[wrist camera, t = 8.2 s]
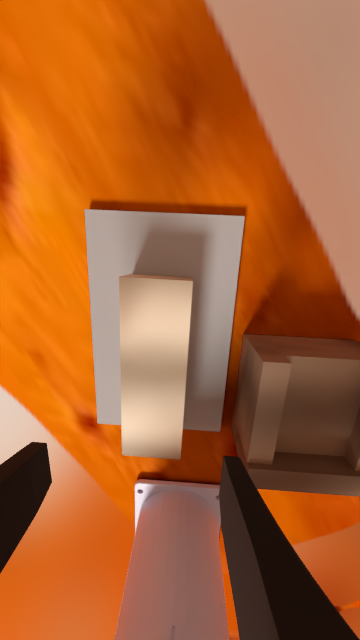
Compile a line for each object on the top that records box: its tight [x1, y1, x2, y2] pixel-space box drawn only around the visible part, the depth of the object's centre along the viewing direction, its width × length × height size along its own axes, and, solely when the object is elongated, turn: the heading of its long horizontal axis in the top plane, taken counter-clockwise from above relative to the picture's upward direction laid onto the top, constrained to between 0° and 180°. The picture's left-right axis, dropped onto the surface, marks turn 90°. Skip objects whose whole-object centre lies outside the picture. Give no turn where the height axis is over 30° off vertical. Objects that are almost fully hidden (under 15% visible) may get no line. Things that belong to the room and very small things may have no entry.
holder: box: [231, 334, 360, 496], centre depth 15 cm, size 8×8×5 cm
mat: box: [85, 209, 245, 432], centre depth 16 cm, size 16×10×1 cm, turn 177°
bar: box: [119, 273, 193, 460], centre depth 15 cm, size 12×4×3 cm, turn 177°
